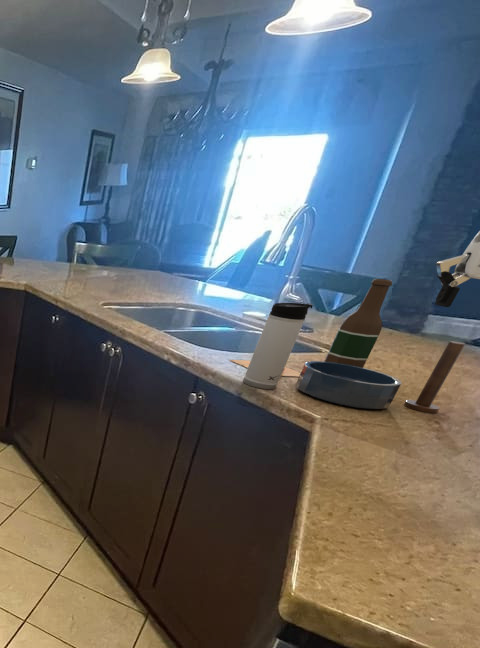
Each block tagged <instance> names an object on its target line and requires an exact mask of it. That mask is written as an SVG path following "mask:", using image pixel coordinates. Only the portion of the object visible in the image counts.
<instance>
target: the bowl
mask: <svg viewBox="0 0 480 648" xmlns="http://www.w3.org/2000/svg"><path fill="white" fill-rule="evenodd" d="M324 361H325V360H324ZM324 361H322V360H311V361H306V362H305V363H304V365H303V367H302V369H301V372H300V373H301V374H300V376H298V378H297V380H296V383H295V385H294V386H295V387H296V388H297V390H299V391H300V392H303V393H305V394H306V395H308V394H309V396H310V395H311V396H310V397H313V398H315V397H316V398H315V399H318V400H321V399H322V400H321V401H324V400H325V401H324V402H327V401H328V402H327V403H331V404H334V403H335V405H339V406H343V405H345V406H344V407H349V408H355V409H367V410H368V409H369V410H370V409H372V410H383V409H387V408H390V405H391V404H392V402H393V400H394V398H395V396H396V395H397V393H398V391H399V390H400V387H401V385H402V381H401V380H400V379H398V378H397V377H395V376H393V375H389V374H387V373H384V372H381V371H379V370H378V371H377V370H374V369H370V368H366V367H358V366H353V365H348V364H341V363H335V362H324Z"/></svg>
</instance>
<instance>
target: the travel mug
mask: <svg viewBox="0 0 480 648" xmlns="http://www.w3.org/2000/svg"><path fill="white" fill-rule="evenodd" d="M309 309H313V303H299V302H276V303H274V304H273V305H272V307H271V310H270V312H269V313H268V316H267V319H266V320H265V324H264V326H263V328H262V331H261V334H260V336H259V339H258V341H257V344H256V346H255V349H254V352H253V354H252V355H251V356H252V357H251V359H250V360H249V361H250V364H249V366H248V368H246V371H245V375H244V377H243V380H242V383H244V384H245V385H247V386H249V387H252V388H256V389H260V390H274V389H276V388H277V386H278V383H279V382H280V379H281V377H282V376H281V374H282V372H283V370H284V367H286V365H287V363H288V360H289V358H290V355H291V354H292V352H293V351H292V350H293V348H294V346H295V344H296V341H297V340H298V337H299V335H300V332H301V330H302V327H303V325H304V323H305V320H306V317H307V315H308V311H309Z"/></svg>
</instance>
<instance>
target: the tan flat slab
mask: <svg viewBox="0 0 480 648" xmlns="http://www.w3.org/2000/svg"><path fill="white" fill-rule="evenodd" d="M250 361H251V360H247V359H246V360H243V359H230V362H232V363H235V364H237V365H240V366H242V367H245V368H246V369H248V366H249V364H250ZM300 374H301V372H299V371H297V370H294V369H292V368H289V367H286V366H285V367H284V370H283V372H282V374H281V377H299V376H300Z"/></svg>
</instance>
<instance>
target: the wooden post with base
mask: <svg viewBox="0 0 480 648" xmlns="http://www.w3.org/2000/svg"><path fill="white" fill-rule="evenodd" d="M465 346H466V343H464V342H460V341H453V340H449V341H448V343H447V345H446V346H445V348H444V350H443V352H442V354H441V356H440V358H439V359H438V361H437V363H436V364H435V366H434V368H433V370H432V372H431V374H430V376H429V377H428V378H427V381H426V382H425V385H424V386H423V388H422V390H421V391H420V393H419V395H418V397H417V399H407V400H405V401H404V403H403V405H404V407H406V408H408V409H411V410H414V411H417V412H421V413H426V414H437V413H439V410H440V406H438V405H436V404H433V402H434V400H435V399H436V398H437V395H438V393H439V392H440V390H441V388H442V386H443V384H444V382H445V381H446V379H447V378H448V376H449V374H450V373H451V370H452V368H453V367H454V365H455V364H456V361H457V360H458V358H459V356H460V355H461V353H462V351H463V349H464V348H465Z"/></svg>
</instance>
